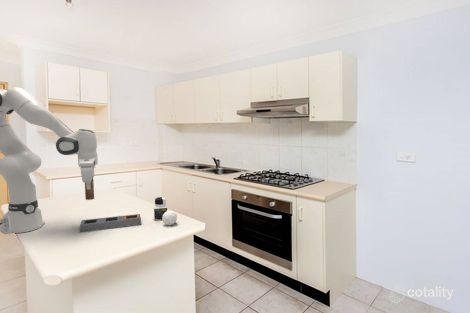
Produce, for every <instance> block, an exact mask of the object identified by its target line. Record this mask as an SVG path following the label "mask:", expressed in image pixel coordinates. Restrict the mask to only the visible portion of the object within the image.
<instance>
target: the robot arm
mask: <svg viewBox="0 0 470 313" xmlns="http://www.w3.org/2000/svg"><path fill="white" fill-rule="evenodd" d="M14 112H15V113H16V114H17V115H18V116H19V117H20V118H21V119H23V120H24V121H26V122H27V123H29V124H31V125H35V126H39V127H43V128H46V129H48V130H50V131H52V132H53V133H54V134H55V135H57V136H58V137H59V138H58V139H57V140H56V142H55V148H56V151H57V152H58V153H59V154H60V155H62V156H73V155H77V162H78V163H77V164H78V167H79V168H80V175H81V181H82V183H85V182H86V187H87V190H88V189H91V180H92V178H93V179H94V177H95V168H96V165H98V164H99V162H98V153H97V148H98V144H97V136H96V133H95V132H94V131H93V130H91V129H84V128H83V129H82V128H80V129H77V130H76V131H75V132H74V131H73V130H72V129H70V128H69V127H68V126H67V125H66V124H65V123H64V122H62V121H61V120H60V119H59V118H57V117H56V116H55V115H54V114H53V113H52V112H51V111H50V110H49V109H47V107H46V106H45V105H44V104H43V103H42V102H41V101H40V100H39V99H38V98H36V97H35V96H34V95H33V94H31V93H30V92H29V91H27V90H26V89H24V88H22V87H20V86H14V87H11V88H9V89H4V88H0V153H1V154H2V155H3V157H1V158H0V175H1V176H2V177H3V179H4V180H5V182H6V185H7V188H8V198H9V203H8V206H7V207H8V208H7V210H8V211H6V213H5V214H4V215H3V216H2V218H1V219H0V232H1V233H2V234H3V235H10V234H18V233H21V234H22V233H27V232H31V231H36V230H38V229H40V228H41V227H42V226H43V225H45V224H46V221H45V220H44V221H43V216H42V210H41V208H39V202H38V199H37V186H36V185H35V183H34V182H33V180H32V178H31V176H30V174H31V173H34V172H35V171H37V170H38V169H39V168H40V167H41V165H42V160H41V159H42V158H41V157H40V156H39V155H38V154H36V153H35V152H33V151H32V150H31V149H30V148H29V147H28V146H27V145H26V144H25V143H24V141H22V140H21V139H20V138H19V136H18V135H17V133H16V131H14V128H13V127H12V125H11V124H10V123H9V121H8V120H7V117H6V116H7V115H11V114H12V113H14Z"/></svg>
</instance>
